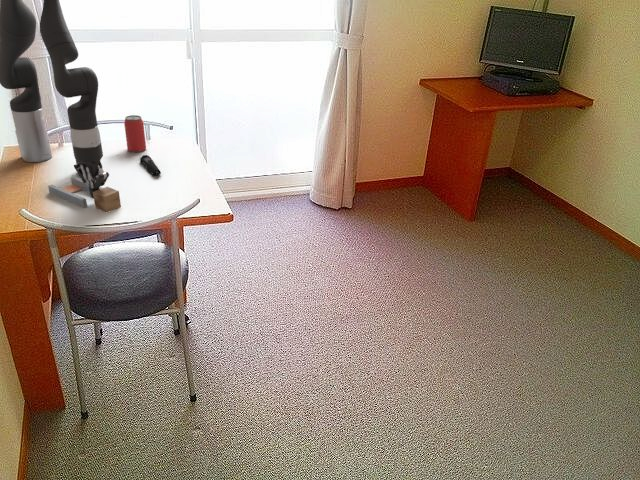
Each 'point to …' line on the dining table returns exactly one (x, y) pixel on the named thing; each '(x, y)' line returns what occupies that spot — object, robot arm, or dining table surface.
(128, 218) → the dining table surface
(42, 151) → the robot arm
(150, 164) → the electric trimmer
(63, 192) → the channel
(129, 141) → the beer can
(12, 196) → the dining table surface
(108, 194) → the block
